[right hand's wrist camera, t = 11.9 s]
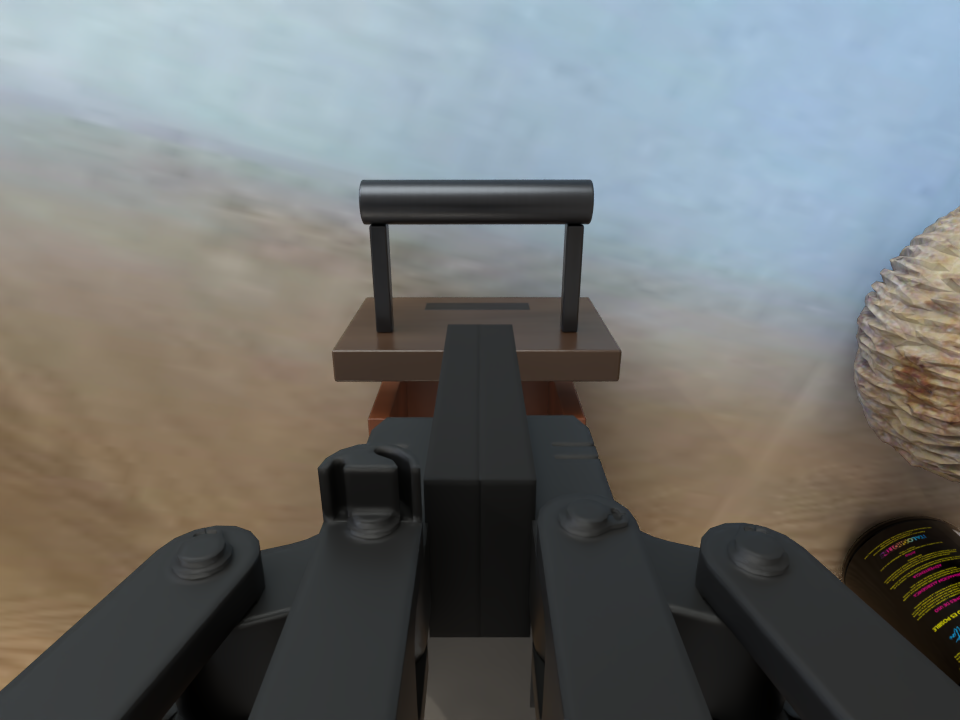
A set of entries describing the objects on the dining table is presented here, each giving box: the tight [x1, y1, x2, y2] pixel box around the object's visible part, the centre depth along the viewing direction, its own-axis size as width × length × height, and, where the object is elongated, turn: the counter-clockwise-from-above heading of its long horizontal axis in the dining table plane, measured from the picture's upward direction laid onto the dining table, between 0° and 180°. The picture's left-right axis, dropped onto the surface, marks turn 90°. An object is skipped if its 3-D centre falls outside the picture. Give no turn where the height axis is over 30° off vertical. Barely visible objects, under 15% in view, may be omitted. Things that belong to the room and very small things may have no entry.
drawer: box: [332, 180, 621, 436], centre depth 27 cm, size 24×10×7 cm, turn 0°
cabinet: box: [424, 629, 536, 720], centre depth 31 cm, size 20×11×9 cm, turn 0°
